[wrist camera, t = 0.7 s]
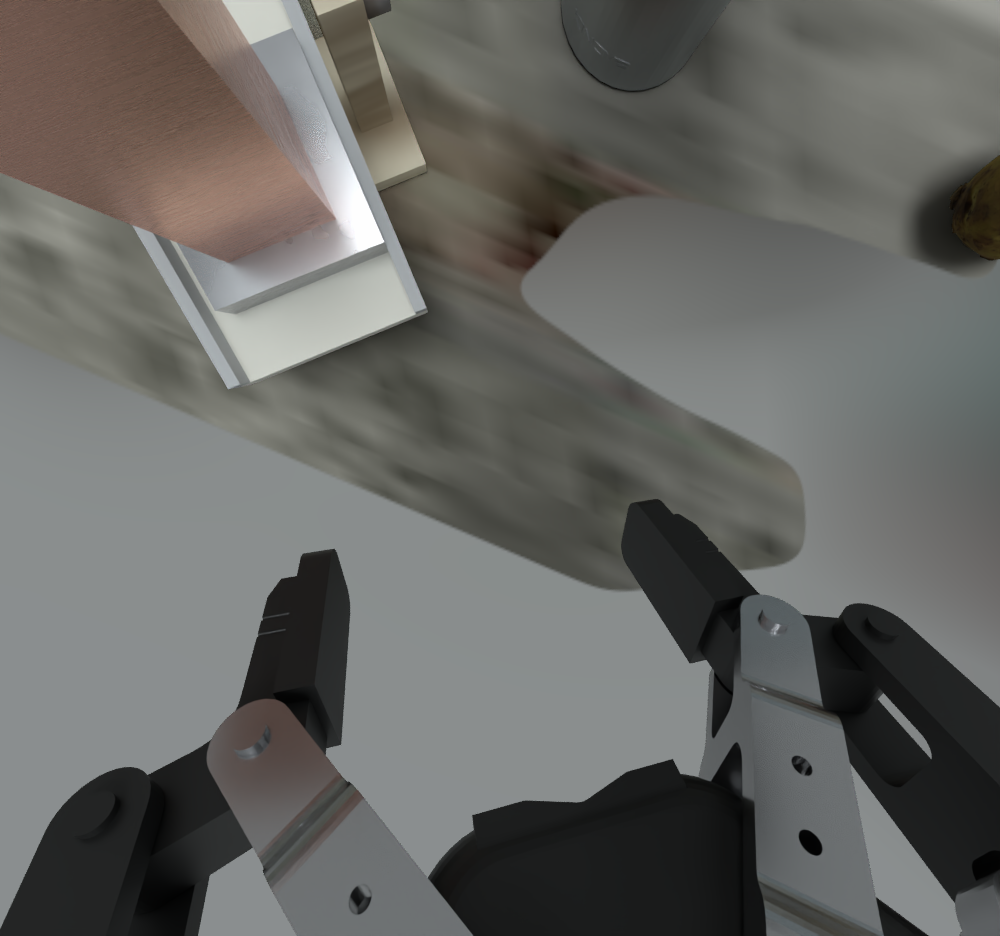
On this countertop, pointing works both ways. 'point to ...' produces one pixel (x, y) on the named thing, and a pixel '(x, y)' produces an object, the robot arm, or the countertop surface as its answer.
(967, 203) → the potato
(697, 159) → the countertop surface
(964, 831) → the robot arm
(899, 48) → the countertop surface
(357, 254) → the block
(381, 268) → the beam
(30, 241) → the countertop surface
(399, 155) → the pivot stand
